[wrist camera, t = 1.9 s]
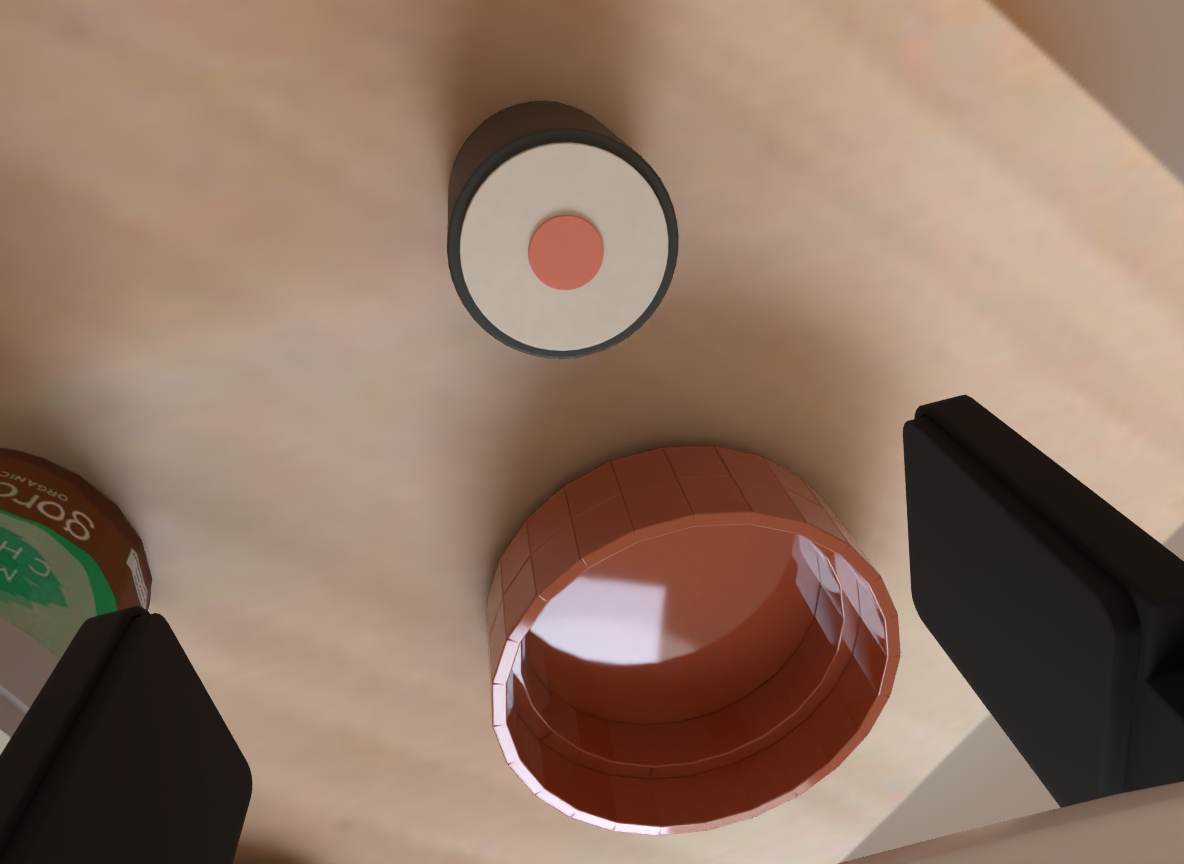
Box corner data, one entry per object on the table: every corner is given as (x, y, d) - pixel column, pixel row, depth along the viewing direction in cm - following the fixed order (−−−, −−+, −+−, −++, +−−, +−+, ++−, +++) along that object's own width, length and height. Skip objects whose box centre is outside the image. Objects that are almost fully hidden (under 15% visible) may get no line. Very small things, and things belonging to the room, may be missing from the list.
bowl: (438, 497, 30) (436, 583, 26) (824, 393, 30) (888, 461, 26) (538, 769, 37) (549, 875, 32) (854, 681, 37) (909, 774, 32)
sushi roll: (423, 128, 25) (414, 165, 19) (612, 79, 25) (658, 101, 19) (478, 309, 27) (484, 388, 22) (649, 264, 27) (698, 331, 22)
